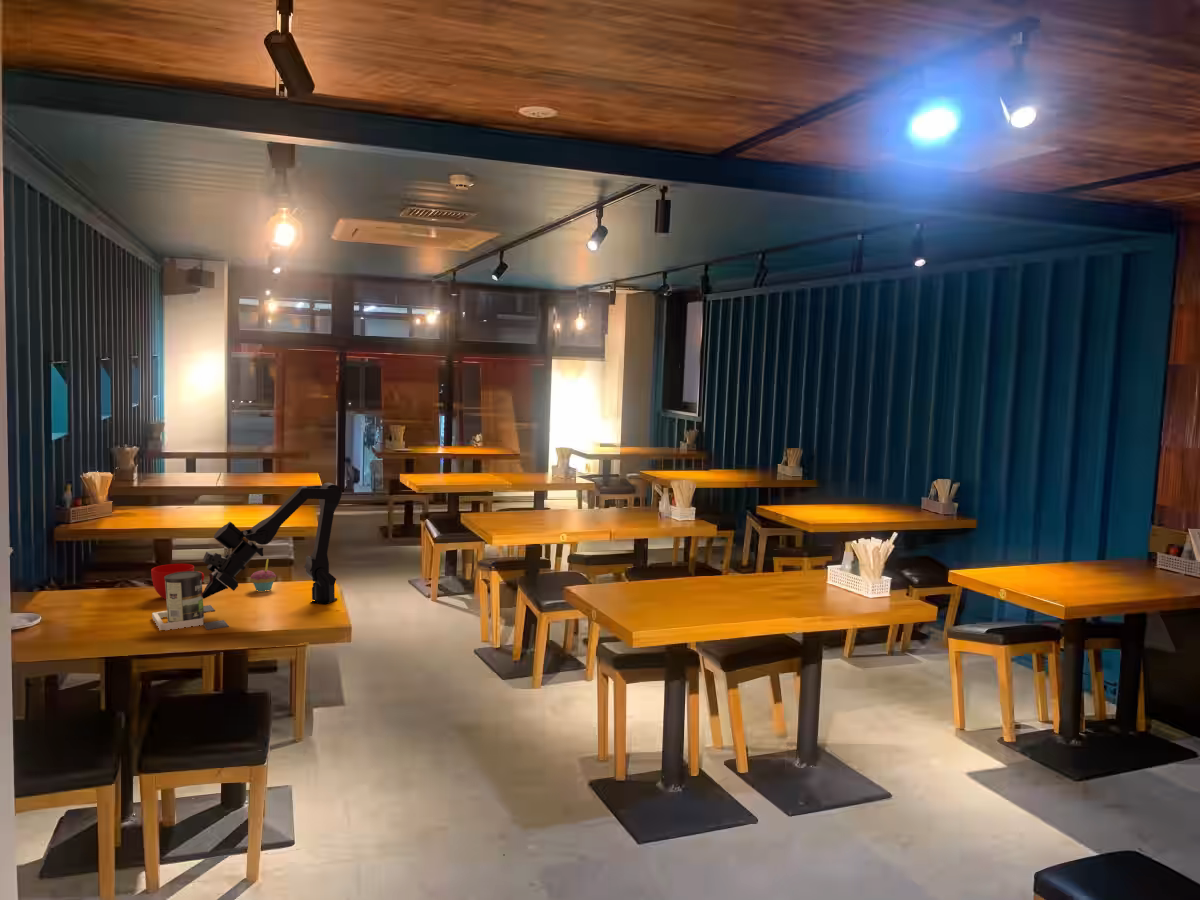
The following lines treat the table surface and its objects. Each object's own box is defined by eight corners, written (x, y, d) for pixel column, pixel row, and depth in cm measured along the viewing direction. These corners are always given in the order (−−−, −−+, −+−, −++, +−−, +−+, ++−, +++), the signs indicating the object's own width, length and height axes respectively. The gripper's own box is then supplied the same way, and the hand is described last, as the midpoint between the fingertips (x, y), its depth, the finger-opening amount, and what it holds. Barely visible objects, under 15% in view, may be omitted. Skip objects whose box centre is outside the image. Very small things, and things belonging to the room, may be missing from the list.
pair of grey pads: (210, 605, 281) (210, 605, 281) (228, 626, 259) (228, 625, 259) (190, 608, 278) (190, 607, 278) (207, 629, 256) (207, 628, 256)
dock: (193, 612, 273) (193, 607, 273) (203, 624, 261) (203, 619, 260) (152, 618, 267) (152, 612, 266) (160, 631, 254) (159, 625, 254)
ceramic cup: (195, 602, 285) (194, 572, 284) (144, 601, 285) (143, 571, 284) (213, 592, 298) (212, 564, 297) (164, 591, 298) (163, 563, 297)
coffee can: (207, 614, 271) (204, 569, 270) (200, 623, 261) (198, 577, 260) (171, 616, 269) (168, 572, 267) (163, 626, 259) (160, 580, 257)
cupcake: (280, 588, 306) (280, 554, 305) (269, 594, 297) (268, 559, 296) (257, 587, 306) (256, 553, 305) (245, 593, 298) (244, 558, 297)
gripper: (212, 537, 276) (176, 575, 271) (225, 547, 261) (186, 588, 256) (239, 558, 281) (204, 596, 276) (253, 570, 266) (216, 610, 261)
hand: (202, 597), depth 267 cm, fingers closed, pressing on coffee can
